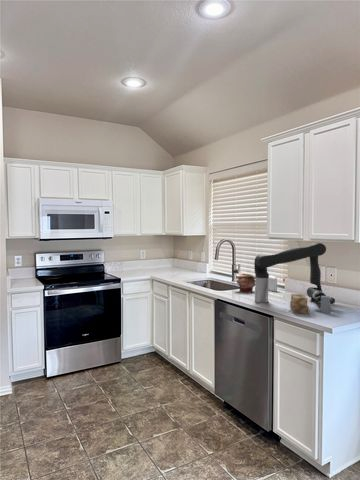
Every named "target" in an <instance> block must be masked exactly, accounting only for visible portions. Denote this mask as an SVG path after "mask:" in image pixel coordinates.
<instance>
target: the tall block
mask: <svg viewBox="0 0 360 480" xmlns="http://www.w3.org/2000/svg"><path fill="white" fill-rule="evenodd" d="M330 298H331V297H330V296H329V295H326V296H321V304H320V312H321V314H331V313H330V312H331V303H330Z"/></svg>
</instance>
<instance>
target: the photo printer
mask: <svg viewBox="0 0 360 480" xmlns="http://www.w3.org/2000/svg"><path fill="white" fill-rule="evenodd" d="M268 291H271V292H277V291H278V277H276V276H274V275H269V288H268Z"/></svg>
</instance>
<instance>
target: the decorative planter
mask: <svg viewBox="0 0 360 480" xmlns="http://www.w3.org/2000/svg"><path fill="white" fill-rule="evenodd" d="M235 281H236V284H238V287H239V292H242V293H252V292H253V290H254V288H255V276H254V275H253V274H248V273H247V274H246V273H242V274H240V275H238V276H237V279H236V280H235Z"/></svg>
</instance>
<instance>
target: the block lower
mask: <svg viewBox="0 0 360 480" xmlns="http://www.w3.org/2000/svg"><path fill="white" fill-rule="evenodd" d="M289 304H290V305H289V308H290V310H291V312H292V314H294V315H295V314H296V315H309V305H307V307H306V306H293V304H292V303H291V300H290V303H289Z"/></svg>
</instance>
